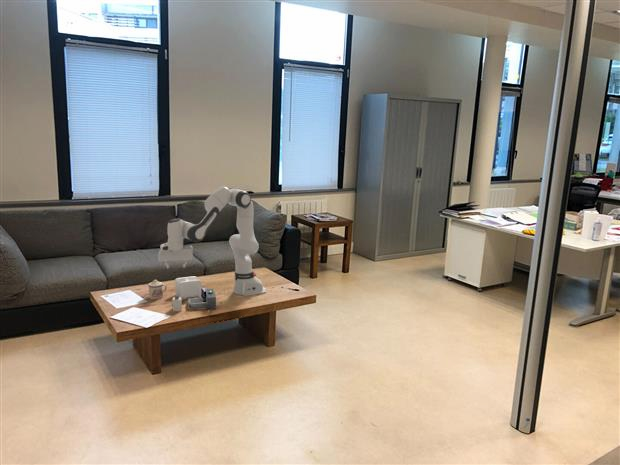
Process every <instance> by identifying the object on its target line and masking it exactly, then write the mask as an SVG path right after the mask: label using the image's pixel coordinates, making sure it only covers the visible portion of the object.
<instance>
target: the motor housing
mask: <svg viewBox="0 0 620 465" xmlns="http://www.w3.org/2000/svg"><path fill="white" fill-rule="evenodd" d="M204 292H206V302H203V298H202V297H189V298H187V305H188V309H189V311H191V310H198V309H199V310H201V309H207V311H210V310H217V296H216V293H215V291H214V288H205V289H204Z"/></svg>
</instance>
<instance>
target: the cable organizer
mask: <svg viewBox="0 0 620 465" xmlns="http://www.w3.org/2000/svg"><path fill="white" fill-rule="evenodd" d="M174 292H175V295H179V297H181V299H182V300H185V299H188V298H199V297H200V296H201V295H202V281H201V279H198V277H197V276H194V275H193V276H192V275H191V276H185V277H184V276H183V277H177V278H175V279H174Z"/></svg>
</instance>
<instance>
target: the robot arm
mask: <svg viewBox="0 0 620 465" xmlns="http://www.w3.org/2000/svg"><path fill="white" fill-rule="evenodd" d="M203 203H204V206H203V207H204V209H205V211H206V215H205V216H204V217H203V219H201V221H199V223H197V224H194V223H192V222H188V221H186V220H184V219H181V218H179V217H177V218H173V219H170V220H169V221H168V223H167V232H166V233H167V236H168V238H167V242H165V243H161V244H160V247H159V248H160V249H159V251H158V261H159V262H160V263H163V262H164V264H165V266H166V269H167V270H169V269H170V264H168V262H182V261H184V264H182V268H183V269H184V268H186V266H187V264H188V261H193V260H194V253H193V252H194V246H193V245H191V244H188V245H187V244H186V245H185V244H184V239H187V240H189V241H191V242H193V243H199V242H201V241H203V240H204V238H205V236H206V234H207V232H208V230H209V229H210V228H211V227H212V225H213V224H214V223H215V221H216V220H217V218H218V217H219V215H220V212H221V211H222V209H224V207H226V205H230V206H233V207H236V209H237V213H236V229H237V230H238V233H237V234H236V233H235V234H233V235H231V236H230V237H229V240H228V244H229V246H230V248H231V251H232V253H233V257H234V265H235V271H234V286H233V288H232V293H233V294H236V295H240V296H244V297H247V296H254V295H255V296H256V295H261V294H266V292H267V288H266V287H265V286H263V282H262V281H261V280H260V279H259V278H257V277H256V276H257V273H255V272H254V271H253V269H252V268H253V264H252V263H253V261H252V258H251V256H250V255H255V254H256V253H258V251H259V247H260V246H259V245H260V244H259V242H258V241H257V239H256V236H255V232H254V214H255V211H254V210H255V209H254V203H253V201H252V198H251V195H250V193H249V192H248V191H246V190H242V189H238V188H230V187H229V188H228V187H227V186H220V187H218V188H217V189H215V191H213V192H212V193H211V194H210V195H209V196H208V197H207V198H206V199H205V202H203Z"/></svg>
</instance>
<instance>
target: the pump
mask: <svg viewBox="0 0 620 465" xmlns="http://www.w3.org/2000/svg"><path fill="white" fill-rule="evenodd" d="M182 300H183V299H182V298H181V297H180V296H179V294H175V295H174V296H173V297H172V310H173V312H180V311H182V308H183V307H182V305H183V304H182V303H183V302H182Z"/></svg>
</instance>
